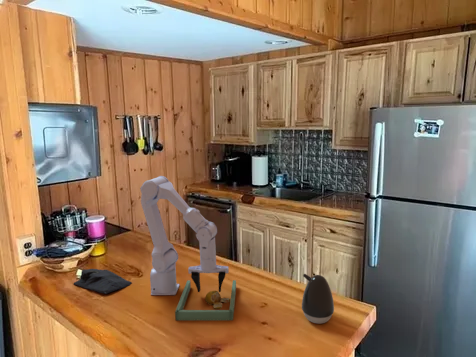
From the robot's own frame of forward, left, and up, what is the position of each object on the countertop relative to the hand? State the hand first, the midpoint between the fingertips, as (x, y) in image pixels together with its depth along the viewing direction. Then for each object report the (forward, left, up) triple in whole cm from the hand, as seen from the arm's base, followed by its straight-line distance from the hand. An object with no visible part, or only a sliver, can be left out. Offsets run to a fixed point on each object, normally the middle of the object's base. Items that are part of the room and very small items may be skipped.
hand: (209, 290), depth 130 cm
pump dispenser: (+37, -14, -3) cm, 40 cm away
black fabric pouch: (-45, +11, -3) cm, 46 cm away
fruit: (+3, -4, -3) cm, 6 cm away
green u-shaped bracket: (0, -4, -2) cm, 5 cm away
